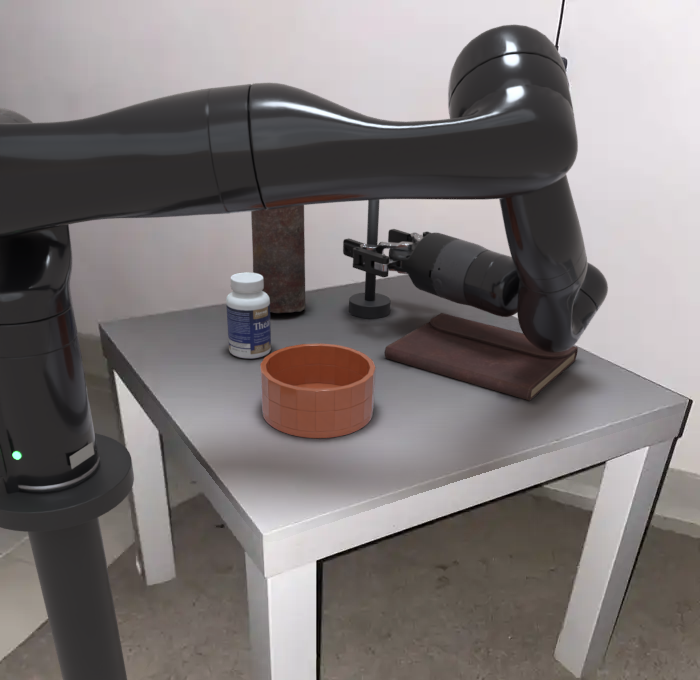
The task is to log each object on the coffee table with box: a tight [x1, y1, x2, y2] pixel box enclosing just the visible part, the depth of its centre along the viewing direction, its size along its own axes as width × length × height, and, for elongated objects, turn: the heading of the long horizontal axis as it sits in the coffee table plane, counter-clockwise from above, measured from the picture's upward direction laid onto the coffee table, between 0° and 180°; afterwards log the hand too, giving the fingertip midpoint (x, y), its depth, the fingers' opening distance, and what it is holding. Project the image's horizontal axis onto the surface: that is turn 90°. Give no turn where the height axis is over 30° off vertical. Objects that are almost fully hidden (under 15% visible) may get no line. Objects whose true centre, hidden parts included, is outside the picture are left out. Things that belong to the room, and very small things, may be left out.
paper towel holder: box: [348, 200, 391, 320], centre depth 108 cm, size 6×6×18 cm
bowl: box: [259, 342, 377, 439], centre depth 84 cm, size 12×12×6 cm
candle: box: [250, 205, 306, 314], centre depth 106 cm, size 8×7×20 cm
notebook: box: [384, 312, 579, 402], centre depth 98 cm, size 15×20×2 cm
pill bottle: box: [225, 271, 272, 360], centre depth 96 cm, size 5×5×10 cm
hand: (367, 241), depth 108 cm, fingers open, 8 cm apart
